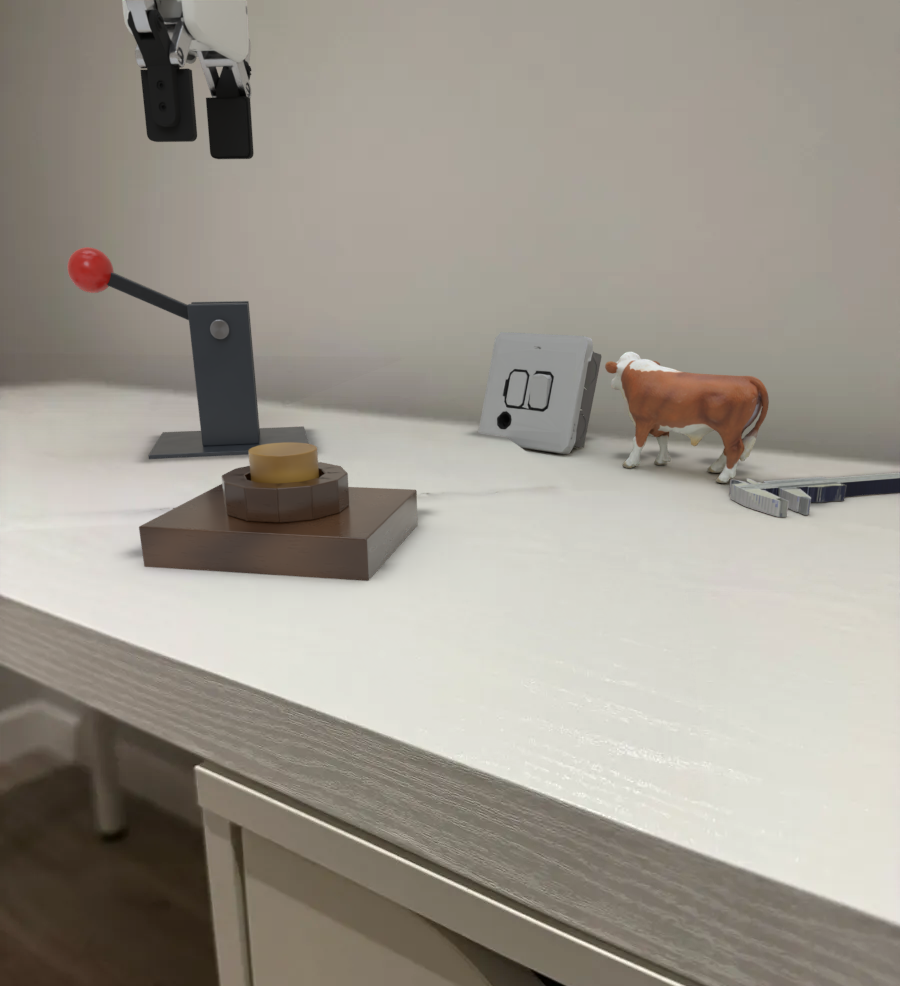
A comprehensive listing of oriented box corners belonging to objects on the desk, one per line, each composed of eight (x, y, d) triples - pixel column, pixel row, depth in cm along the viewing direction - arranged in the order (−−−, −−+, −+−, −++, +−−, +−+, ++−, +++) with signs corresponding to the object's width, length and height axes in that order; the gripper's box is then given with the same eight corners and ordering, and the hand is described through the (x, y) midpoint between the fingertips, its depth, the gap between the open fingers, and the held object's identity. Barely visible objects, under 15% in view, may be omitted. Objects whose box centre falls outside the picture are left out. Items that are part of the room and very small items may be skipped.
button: (240, 487, 46) (236, 454, 45) (267, 472, 49) (264, 441, 49) (305, 490, 45) (302, 456, 45) (328, 474, 48) (326, 443, 48)
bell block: (143, 567, 45) (132, 491, 44) (228, 516, 54) (222, 451, 53) (368, 582, 43) (365, 501, 41) (417, 525, 52) (416, 458, 50)
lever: (57, 282, 64) (70, 238, 63) (66, 281, 67) (79, 240, 66) (230, 355, 68) (245, 315, 67) (232, 351, 71) (246, 313, 70)
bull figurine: (618, 452, 71) (624, 348, 69) (769, 480, 62) (784, 360, 59) (582, 460, 69) (587, 352, 66) (735, 490, 59) (749, 365, 56)
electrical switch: (475, 443, 76) (482, 330, 73) (511, 440, 79) (520, 333, 77) (566, 457, 70) (578, 335, 67) (600, 453, 74) (613, 338, 71)
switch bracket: (150, 470, 67) (128, 306, 62) (164, 446, 76) (146, 301, 72) (310, 463, 69) (299, 303, 65) (305, 439, 78) (295, 299, 74)
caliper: (786, 501, 52) (713, 480, 57) (783, 519, 53) (712, 496, 58) (1008, 468, 60) (927, 451, 66) (1005, 483, 61) (924, 466, 66)
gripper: (184, -99, 64) (205, 164, 70) (43, -221, 48) (87, 133, 54) (284, -104, 63) (296, 163, 69) (173, -232, 47) (202, 132, 53)
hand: (204, 150), depth 61 cm, fingers open, 9 cm apart
